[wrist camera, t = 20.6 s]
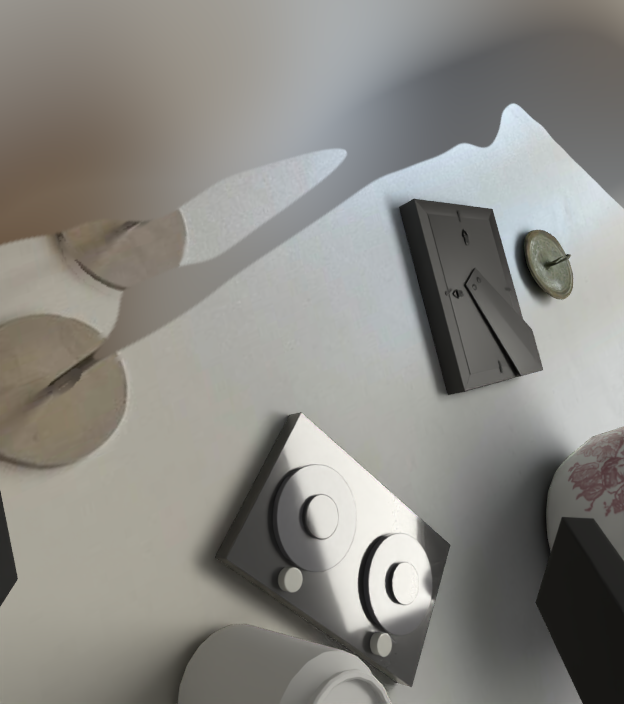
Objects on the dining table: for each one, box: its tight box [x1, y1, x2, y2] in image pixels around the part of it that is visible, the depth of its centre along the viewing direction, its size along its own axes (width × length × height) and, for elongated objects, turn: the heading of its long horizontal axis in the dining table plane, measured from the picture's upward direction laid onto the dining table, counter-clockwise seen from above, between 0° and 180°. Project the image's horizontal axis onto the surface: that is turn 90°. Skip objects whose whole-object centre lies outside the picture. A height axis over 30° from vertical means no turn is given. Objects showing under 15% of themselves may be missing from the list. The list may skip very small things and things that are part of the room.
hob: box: [215, 412, 450, 687], centre depth 42 cm, size 12×20×2 cm, turn 60°
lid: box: [524, 230, 573, 299], centre depth 75 cm, size 11×10×5 cm
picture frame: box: [400, 199, 543, 395], centre depth 62 cm, size 16×3×21 cm
